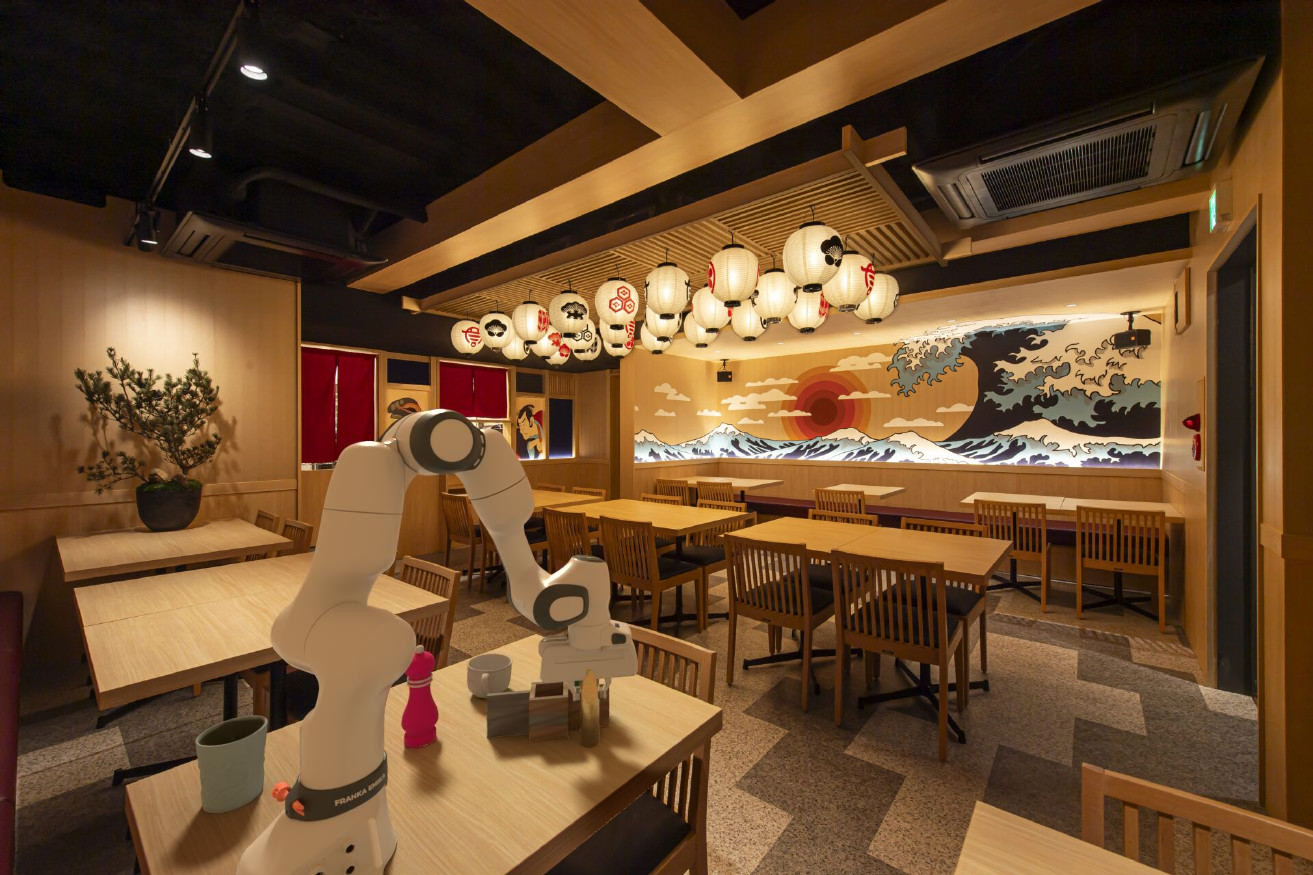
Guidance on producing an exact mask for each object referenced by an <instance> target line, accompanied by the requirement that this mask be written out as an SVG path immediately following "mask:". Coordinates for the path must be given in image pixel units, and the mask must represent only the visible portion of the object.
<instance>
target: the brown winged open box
mask: <svg viewBox="0 0 1313 875" xmlns="http://www.w3.org/2000/svg"><path fill="white" fill-rule="evenodd" d="M603 685H604V683H599V687H603ZM575 688H576V689H580V686H575ZM610 717H611V716H610V687H609V688H608V689H607V691H606V698H604V699H599V728H604V727H606V728H607V727H610V725H611V723H610V719H611V718H610ZM575 730H580V701H573V693H572V692H571V690H570V689H569V687H568V681H566V682H554V683H543V681H535V682H534V681H533V682H531V686H530V689H527V690H515V691H503V692H501V693H489V694H487V698H486V738H487V739H490V738H491V739H492V738H501V737H511V736H523V735H528V736H529V740H528V742H529V744H534V743H535V744H536V743H545V742H547V743H548V742H556V741H557V742H558V741H566V740H569V731H575Z"/></svg>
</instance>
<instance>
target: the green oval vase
mask: <svg viewBox="0 0 1313 875" xmlns="http://www.w3.org/2000/svg"><path fill="white" fill-rule="evenodd" d="M268 723H269V722H268V719H267V717H266V716H262V715H246V716H239V717H236V718H235V717H234V718H231V719H228V720H225V721H221V722H220V723H217V724H215V725H212V726H210V727H209V728H207V729H206V730H204V731H203V732H201V733H200V734H199V735H198V736H197V737H196V739H195V751H196V757H197V766H198V769H199V780H200V788H201V789H200V798H201V806H202V810H203V811H204V812H205V813H207V814H208V813H209V814H225V813H227V812H230V811H234V810H237V809H240V808H242V807H243V806H245V805H248V804H249V803H251V802H252V801H254V800H255V799H256V798H257V797H259V796H260V795H261V793H262V791H263V789H264V784H265V766H264V763H265V760H266V755H265V754H266V753H265V752H266V750H265V749H266V745H267V735H268Z"/></svg>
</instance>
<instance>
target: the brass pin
mask: <svg viewBox="0 0 1313 875" xmlns="http://www.w3.org/2000/svg"><path fill="white" fill-rule="evenodd" d="M599 684H600V679H595V678H594V669H593V670H586V678H585V680H580V729H579V731H580V732H579V734H580V735H579V739H580V740H579V742H580V746H581V747H583V748H590V749H591V748H594V747H596V746H598V745H599V744H600V727H599Z"/></svg>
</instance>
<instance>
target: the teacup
mask: <svg viewBox="0 0 1313 875" xmlns="http://www.w3.org/2000/svg"><path fill="white" fill-rule="evenodd" d="M512 664H513V658H512V657H511V656H510V655H508V654H503V653H496V652H495V653H484V654H480V655H476V656H473V657H472V658H470V659H469V660H468V661H467V662H466V667H467V668H466V670H467V672H466V679H467V680H466V686H467V689H468V690H469V692H470V693H472V695H474V696H475V697H477V698H479V699H487V694H489V693H501V692H506V690H507V689H508V687H509V686H510V684H511V681H512V680H511V678H512V669H513V668H512V666H513V665H512Z"/></svg>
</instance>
